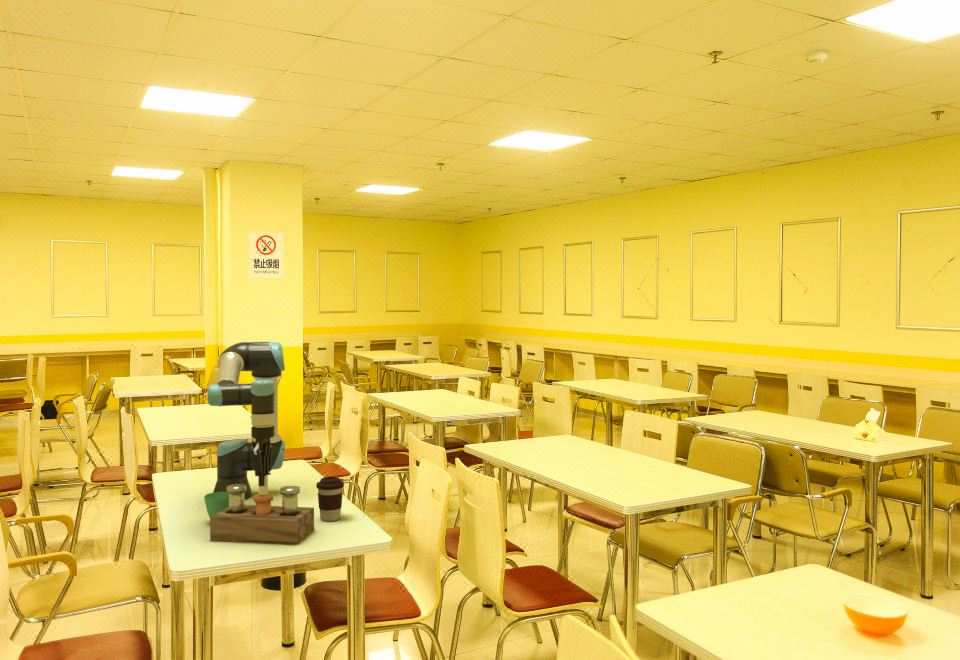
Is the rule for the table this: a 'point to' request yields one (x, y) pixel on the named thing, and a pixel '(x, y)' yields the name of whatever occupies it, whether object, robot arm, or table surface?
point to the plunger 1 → (236, 498)
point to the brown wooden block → (262, 526)
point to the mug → (216, 502)
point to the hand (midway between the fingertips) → (263, 494)
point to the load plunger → (263, 503)
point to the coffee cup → (330, 498)
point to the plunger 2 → (289, 500)
